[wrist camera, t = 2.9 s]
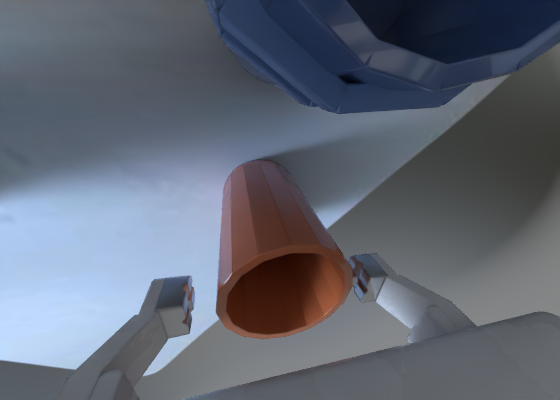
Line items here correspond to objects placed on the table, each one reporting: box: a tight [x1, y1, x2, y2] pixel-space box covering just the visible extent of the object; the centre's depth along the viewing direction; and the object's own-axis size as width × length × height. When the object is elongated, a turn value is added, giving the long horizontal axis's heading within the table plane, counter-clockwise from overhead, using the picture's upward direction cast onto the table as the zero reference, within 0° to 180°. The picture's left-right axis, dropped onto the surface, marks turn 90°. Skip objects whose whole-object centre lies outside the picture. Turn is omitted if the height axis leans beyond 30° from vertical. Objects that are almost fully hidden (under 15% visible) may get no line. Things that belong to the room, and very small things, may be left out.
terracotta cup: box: [216, 160, 353, 339], centre depth 13 cm, size 6×6×10 cm
